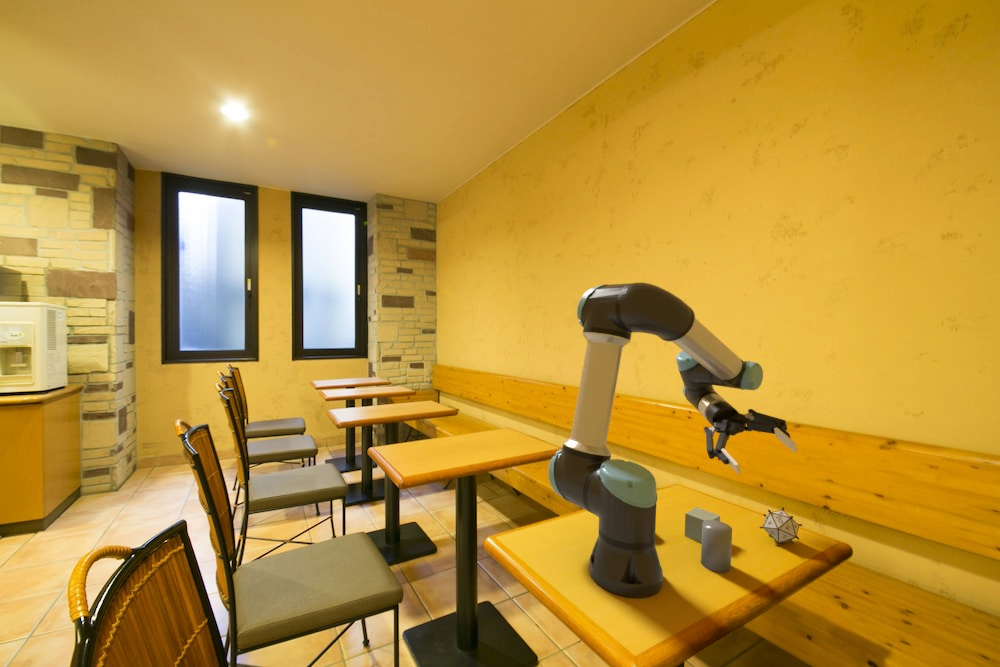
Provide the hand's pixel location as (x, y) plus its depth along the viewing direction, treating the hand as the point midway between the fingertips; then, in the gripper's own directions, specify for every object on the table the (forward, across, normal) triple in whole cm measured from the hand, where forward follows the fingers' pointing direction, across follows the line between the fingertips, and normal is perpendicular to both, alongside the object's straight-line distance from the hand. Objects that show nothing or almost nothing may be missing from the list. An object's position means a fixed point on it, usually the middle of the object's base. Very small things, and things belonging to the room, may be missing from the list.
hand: (766, 458), depth 99 cm
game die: (+1, +3, -26) cm, 26 cm away
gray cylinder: (+10, +22, -13) cm, 27 cm away
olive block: (-1, +20, -18) cm, 27 cm away
